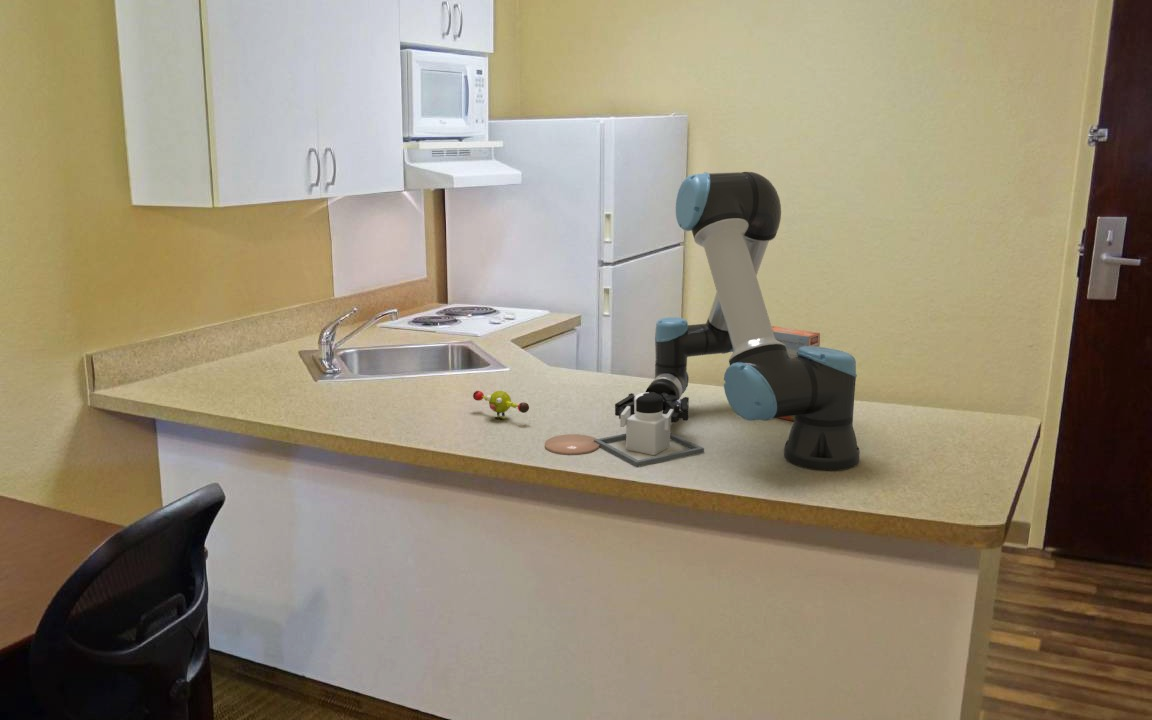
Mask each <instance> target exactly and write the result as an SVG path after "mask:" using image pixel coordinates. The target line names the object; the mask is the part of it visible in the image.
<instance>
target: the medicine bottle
mask: <svg viewBox="0 0 1152 720" xmlns="http://www.w3.org/2000/svg"><path fill="white" fill-rule="evenodd" d="M635 395H636V394H635ZM634 413H635V414H634V415H631V416H630V417H629V418H627V419H626V425H625V429H626V430H625V434H626V441H625V442H626V444H625V450H627V451H629V452H634V453H635V452H636V453H641V454H646V455H651V456H656V455H658V454H659V453H661V452H662V451H665V450H666V449H668V448H669V447H670V446H671V440H670V433H671V427H670V428H669V430H665V417H666V415H667V413H666V414H665V413H664V414H663V397H662V396H661V395H659V394H657V393H651V392H646V391H645V392H640V393H638V394H637V395H636V396H635V398H634Z"/></svg>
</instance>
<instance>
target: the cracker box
mask: <svg viewBox="0 0 1152 720" xmlns="http://www.w3.org/2000/svg"><path fill="white" fill-rule="evenodd" d="M771 326H772V330H773V333H774V336H775V339H776V340H777V341H779V342H781V343H783V344H785V346H786V349H787V352H788V356H789V357H797V351H798V349H799V348H800V347H802V346H815V347H821V346H820V345H821V343H820V342H821V333H820V332H817V331H809V330H804V329H803V330H802V329H797V328H788V327H782V326H774V325H771ZM794 418H795V415H793V416H786V417H779V418H778V419H782V420H788V421H792V422H794Z"/></svg>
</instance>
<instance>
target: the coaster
mask: <svg viewBox="0 0 1152 720" xmlns="http://www.w3.org/2000/svg"><path fill="white" fill-rule="evenodd" d="M594 439H597V437H594V436H590V435H586V434H577V433H575V434H574V433H571V434H561V435H556V436H552V437H549V438H547V440H545V442H544V448H545V450H547V451H549V452H551V453H554V454H558V453H559V455H565V454H567V455H568V456H571V455H572V454H578V455H586V454H589V453H592V452H595V451H597V450H599V449H600V444H598V443H596V442H594ZM570 454H571V455H570Z"/></svg>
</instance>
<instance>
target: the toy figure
mask: <svg viewBox="0 0 1152 720" xmlns="http://www.w3.org/2000/svg"><path fill="white" fill-rule="evenodd" d="M472 397H473V399H474V400H475V401H482V400H483V399H484V400H485V401H487V402H488V405H489V408H490V409H491V410H492V411H493V412H495V413H496V416H494V419H499V420H501V421H502V420H503V421H504V420H505V419H506V416H505V415H506V414H505V413H506V412H507V411H508V410H509V409H510V408H512V409H513V408H514V409H515V408H517V409H518V411H519V412H521V413H524V414H526V413H527V412H528V411H529V409H530V405H529V404H528V403H527V402H520V403H519V404H517V403H516V402H512V399H511V396H510V395H509V393H507V392H506V391H503V390H497V391H494V392H493V393H492V394H488V395H486V396H484V393H483V392H482V391H481V390H476V391H474V392H473V394H472ZM500 414H501V416H500Z"/></svg>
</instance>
